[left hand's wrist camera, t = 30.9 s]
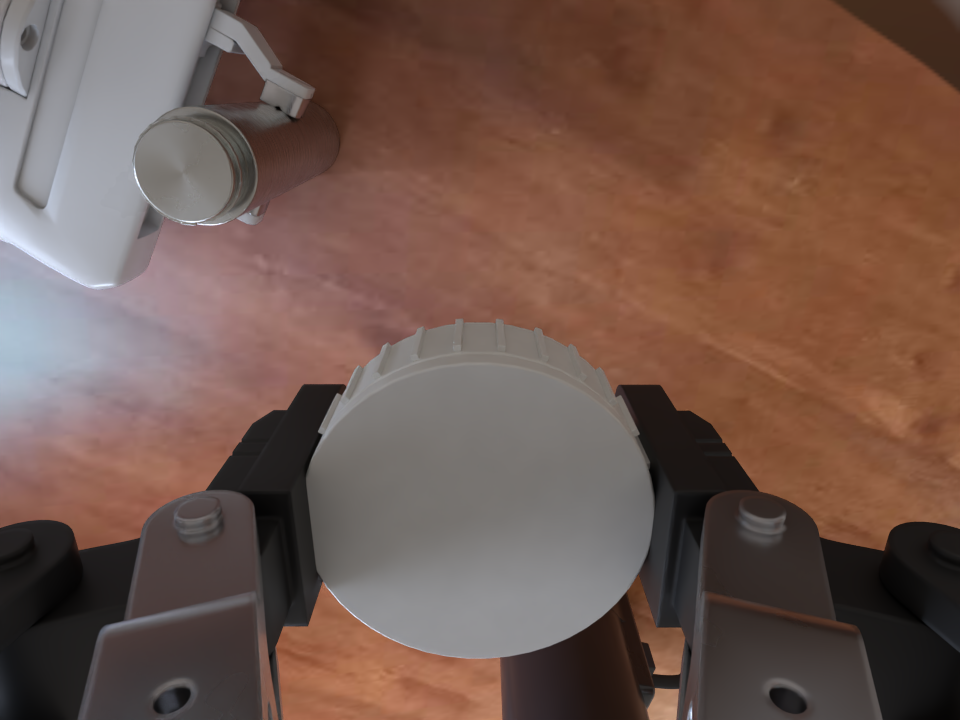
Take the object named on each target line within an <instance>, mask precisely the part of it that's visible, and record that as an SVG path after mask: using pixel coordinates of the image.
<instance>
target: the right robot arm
mask: <svg viewBox="0 0 960 720" xmlns="http://www.w3.org/2000/svg"><path fill="white" fill-rule="evenodd" d="M240 1H241V0H0V240H2V241H4V242H7V243H10V244H13V245H15V246H16V247H18V248H19V249H21V250H22V251H24V252H26V253H27V254H29V255H30V256H32V257H33V258H35V259H37V260H38V261H40V262H42V263H44V264H45V265H47V266H49V267H50V268H52V269H54V270H56V271H57V272H59V273H61V274H63V275H64V276H66V277H68V278H70V279H72V280H74V281H76V282H78V283H80V284H82V285H84V286H86V287H88V288H91V289H96V290H102V289H109V288H113V287H118V286H121V285H123V284H125V283H127V282H129V281H131V280H133V279H134V278H136V277H138V276H139V275H141V274H142V273H143V272H144V271H145V270H146V269H147V267H148V265H149V262H150V259H151V256H152V253H153V250H154V247H155V245H156V242H157V239H158V236H159V233H160V230H161V227H162V224H163V222H164V219H165V216H163V215H161V214H160V213H158V212H157V211H156V210H155V209H154V208H153V207H152V206H151V205H150V204H149V203H148V202H147V201H146V199H145V198H144V196H143V195H142V193H141V192H140V190H139V189H138V188H139V187H138V185H137V182H136V180H135V177H134V175H133V174H134V171H133V164H132V160H133V153H134V146H135V145H136V143H137V140H138V138H139V136H140V134H141V133H142V132H143V131H144V130H145V129H146V128H147V127H148V126H149V125H150V124H152V123H154V122H155V121H156V120H157V119H158V118H159V117H160V116H161V115H163V114H164V113H166V112H168V111H170V110H172V109H175V108H179V107H186V106H200V105H204V104H205V101H206V98H207V95H208V93H209V90H210V87H211V84H212V81H213V78H214V75H215V72H216V70H217V67H218V64H219V61H220V58H221V55H222V52H223V50H224V51H226V52H228V53H236V54H245V55H246V56H247V57H248V59H249V60H250V62H251V63H252V64H253V66H254V67H255V69H256V70H257V71H258V73H259V74H260V76H261V77H262V78H263V80H264V81H265V82H266V83H265V86H264V88H263V91H262V94H261V97H260V100H262V101H264V102H265V103H267V104H269V105H271V106H274V107H277V106H279V107H280V108H281V110H282V111H283V112H284V113H285V114H287V115H289V116H291V117H294V118H297V119H300V117H301V118H304V115H305V113H306V111H307V108H308V106H309V104H310V101H311V99H312V97H313V94H314V91H315V88H314V87H312V86H311V85H309V84H308V83H306V82H304V81H302V80H300V79H299V78H297V77H295V76H293V75H292V74H290V73H288V72H286V71H284V70H283V69H282V68H283V66H282V64H281V63H280V61H279V60H278V58H277V57H276V55H275V54H274V52H273V51H272V49H271V48H270V46H269V45H268V43H267V41H266V40H265V38H264V37H263V35H262V34H261V32H260V31H259V29H258V28H257V27H256V26H254V25H253V24H251V23H249V22H247V21H246V20H244V19H242V18H240V17H238V16H237V15H236V12H237V9H238V6H239V3H240ZM269 202H270V201H268V202H266V203H264V204H262V205H261V206H259V207H257V208H255V209H253V210H251V211H249V212H247V213H245V214H244V215H242V216H240V217H238V218H237V219H239V220H241V221H243V222H245V223H247V224H251V225H256V224H258V223H259V222H261V221H262V219H263V217H264V214H265V212H266V209H267V207H268V204H269Z"/></svg>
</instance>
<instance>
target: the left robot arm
mask: <svg viewBox="0 0 960 720" xmlns="http://www.w3.org/2000/svg"><path fill="white" fill-rule="evenodd" d="M345 389H346V386H345V385H344V384H304V385H303V386H302V387H301V389H300V390H299V392H298V393H297V395H296V397H295V398H294V400H293V402H292V403H291V405H290V406H289V408H288V410H273V411H272V412H270V413H269V414H267V415H266V416H264V417H262V418H261V419H259V420H258V421H256V422H255V423H253V424H252V425H251V427H250V428H249V430H248V431H247V432H246V434H245V435H244V437H243V438H242V442H239V444H238V445H237V447H236V448H235V449H234V451H233V455H232V456H230V457H229V458H228V459H227V461H226V462H225V464H224V465H223V467H222V468H221V469H220V471H219V472H218V474H217V475H216V476H215V478H214V479H213V481H212V482H211V484H210V485H209V486H208V488H207V489H206V491H202V492H197V493H193V494H189V495H186V496H183V497H180V498H178V499H175V500H173V501H171V502H169V503H167V504H165V505H164V506H162V507H161V508H159V509H158V510H157V511H155V512H154V513H153V514H152V515H151V516H150V517H149V518H148V519H147V521H146V522H145V524H144V526H143V528H142V532H141V537H140V538H138V539H134V540H130V541H125V542H120V543H115V544H110V545H105V546H99V547H94V548H89V549H84V550H78V547H77V543H76V540H75V536H74V533H73V531H72V529H71V528H70V527H69V526H68V525H66V524H64V523H62V522H58V521H51V520H36V521H27V522H22V523H17V524H13V525H9V526H5V527H2V528H0V720H283V709H282V698H281V686H280V675H279V664H278V657H277V650H276V644H277V642H278V639H279V636H280V634H281V631H282V628H283V626H308V624H309V621H310V618H311V615H312V612H313V609H314V606H315V603H316V600H317V597H318V594H319V591H320V588H321V585H322V582H323V580H322V579H321V577H320V576H319V574H318V572H317V569H316V562H315V553H314V545H313V537H312V528H311V520H310V511H309V503H308V495H307V486H306V473H307V470H308V467H309V465H310V462H311V459H312V457H313V454H314V452H315V450H316V448H317V446H318V444H319V442H320V440H321V437H322V434H320V433H318V431H319V429H320V426H321V424H322V422H323V420H324V418H325V416H326V414H327V412H328V410H329V408H330V406H331V404H332V402H333V400H334V398H335V396H336V394H337V393H338V394H340V395H343V393H344V391H345ZM620 395H621V396H622V398H623V400H624V402H625V404H626V406H627V408H628V410H629V413H630V415H631V417H632V419H633V421H634V423H635V425H636V427H637V429H638V431H639V435H638V438H639V440H640V442H641V444H642V446H643V448H644V450H645V453H646V455H647V457H648V459H649V461H650V469H649V472H650V475H651V479H652V484H653V489H654V494H655V510H654V519H653V528H652V536H651V543H650V547H649V551H648V554H647V557H646V559H645V561H644V563H643V565H642V568H641V570H640V572H639V576H640V579H641V582H642V585H643V588H644V591H645V594H646V597H647V600H648V603H649V606H650V609H651V612H652V615H653V618H654V621H655V624H656V627H682V630H683V633H684V635H685V644H684V650H683V657H682V664H681V673H680V674H679V675H657V674H653V672H654V670H655V664H654V661H653V658H652V655H651V651H650V648H649V645H648V643H643V642H641V640H640V636H639V633H638V629H637V626H636V623H635V619H634V616H633V612H632V609H631V606H630V602H629V599H628V595H627V592H626V593H625V594H624V595H623V596H622V597H621V599H620V600H619V601H618V602H617V603H616V604H615V605H614V606H613V607H612V608H611V609H610V610H609V611H608V612H607V613H605V614H604V615H603V616H602V617H601V618H599V619H598V620H597V621H595V622H594V623H593V624H591V625H590V626H588V627H587V628H585V629H584V630H582V631H580V632H578V633H577V634H575V635H573V636H571V637H569V638H567V639H565V640H563V641H560V642H558V643H556V644H553V645H551V646H548V647H545V648H542V649H539V650H536V651H532V652H529V653H524V654H519V655H514V656H508V657H500V667H501V693H502V719H503V720H650V719H649V716H648V712H647V709H648V707H649V705H650V703H651V701H652V699H653V698H654V694H655V688H663V689H679V698H678V709H677V720H960V529H958V528H955V527H951V526H947V525H942V524H937V523H930V522H908V523H904V524H900V525H898V526H896V527H894V528H893V529H892V530H891V531H890V534H889V536H888V540H887V543H886V547H885V550H884V551H881V550H876V549H871V548H866V547H861V546H856V545H850V544H845V543H840V542H836V541H831V540H827V539H824V538H821V537H819V532H818V528H817V526H816V524H815V522H814V521H813V519H812V518H811V517H810V516H809V515H808V514H807V513H806V512H805V511H803V510H802V509H801V508H799V507H798V506H796V505H795V504H793V503H791V502H789V501H787V500H785V499H782V498H780V497H777V496H774V495H771V494H767V493H763V492H759V490H758V489H757V488H756V486H755V485H754V483H753V482H752V481H751V479H750V478H749V476H748V475H747V474H746V472H745V471H744V470H743V468H742V467H741V465H740V464H739V463H738V461H737V460H736V458H735V457H734V456H732V453H731V451H730V450H729V449H728V447H727V446H726V444H725V443H722V439H721V437H720V436H719V435H718V433H717V432H716V430H715V429H714V428H713V426H712V425H711V424H710V423H708V422H707V421H705V420H704V419H702V418H700V417H699V416H697V415H696V414H694V413H693V412H691V411H677V410H676V409H675V407H674V406H673V404H672V402H671V401H670V399H669V398H668V396H667V395H666V393H665V391H664V390H663V388H662V387H661V386H660V385H618V387H617V389H616V393H615V397H618V396H620Z"/></svg>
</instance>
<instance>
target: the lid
mask: <svg viewBox="0 0 960 720" xmlns="http://www.w3.org/2000/svg"><path fill="white" fill-rule="evenodd" d="M318 433H320V434H322V437H321V440H320V442H319V444H318V446H317V448H316V450H315V452H314V454H313V457H312V459H311V462H310V465H309V467H308V470H307V473H306V486H307V495H308V503H309V511H310V520H311V528H312V537H313V545H314V553H315V562H316V569H317V572H318V574H319V576H320V577H321V579H322V580H323V582H324V584H325V585H326V587H327V588H328V589H329V591H330V592H331V593H332V594H333V595H334V597H335V598H336V599H337V600H338V601H339V602H340V603H341V604H342V605H343V606H344V607H345V608H346V609H347V610H348V611H349V612H350V613H351V614H352V615H354V616H355V617H356V618H357V619H359V620H360V621H362V622H363V623H364V624H366V625H367V626H368V627H370V628H371V629H373V630H375V631H377V632H378V633H380V634H382V635H384V636H386V637H387V638H389V639H392V640H394V641H396V642H399V643H401V644H403V645H406V646H408V647H412V648H415V649H418V650H421V651H425V652H428V653H433V654H438V655H443V656H449V657H459V658H497V657H508V656H514V655H519V654H524V653H529V652H532V651H536V650H539V649H542V648H545V647H548V646H551V645H553V644H556V643H558V642H560V641H563V640H565V639H567V638H569V637H571V636H573V635H575V634H577V633H578V632H580V631H582V630H584V629H585V628H587V627H588V626H590V625H591V624H593V623H594V622H595V621H597V620H598V619H599V618H601V617H602V616H603V615H604V614H605V613H607V612H608V611H609V610H610V609H611V608H612V607H613V606H614V605H615V604H616V603H617V602H618V601H619V600H620V599H621V597H622V596H623V595H624V594H625V593H626V591H627V590H628V589H629V588H630V586H631V585H632V583H633V581H634V580H635V578H636V577H637V575H638V574H639V572H640V570H641V568H642V565H643V563H644V561H645V559H646V557H647V554H648V551H649V547H650V543H651V536H652V528H653V519H654V510H655V494H654V489H653V484H652V479H651V475H650V472H649V469H650V461H649V459H648V457H647V455H646V453H645V450H644V448H643V446H642V444H641V442H640V440H639V438H638V435H639V431H638V429H637V427H636V425H635V423H634V421H633V419H632V417H631V415H630V413H629V410H628V408H627V406H626V404H625V402H624V400H623V398H622V396H621V395H620V396H618V397H615V395H614V393H613V391H612V389H611V386H610V384H609V382H608V380H607V378H606V375H605V373H604V371H603V370H602V369H601V368H600V367H599V368H597V369H596V370H595V369H594V368H593V367H592V366H591V365H590V364H589V363H588V362H587V361H586V360H584V359H583V358H582V357H580V356H579V354H578V351H577V349H576V347H575V346H573V345H572V344H570V345H569V346H568V347H566V346H564V345H562V344H561V343H559V342H557V341H555V340H553V339H552V338H549V337H547V336H544V335H543V333H542V330H541V329H539V328H536V327H535V329H534V331H531V330H527V329H523V328H519V327H516V326H512V325H504V322H503V320H502V319H496V323H464V322H463V319H456V324H452V325H445V326H441V327H437V328H433V329H429V330H425V328H424V327H421V328H418V329H417V332H416V334H415V335H413V336H410V337H408V338H405V339H403V340H402V341H400V342H398V343H396V344H394V345H393V346H391V345H390V344H389V343H386V344H385V345H383V347H382V349H381V352H380V354H379V355H378V356H376V357H375V358H374V359H372V360H371V361H370V362H369V363H368V364H367V365H366V366H365V367H364V368H362V367H361V366H358V367H357V368H356V369H355V370H354V372H353V374H352V377H351V379H350V381H349V383H348V385H347V387H346V389H345V391H344V393H343V395H340V394H338V393H337V394H336V396H335V398H334V400H333V402H332V404H331V406H330V408H329V410H328V412H327V414H326V416H325V418H324V420H323V422H322V424H321V426H320V429H319V431H318Z"/></svg>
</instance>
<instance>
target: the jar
mask: <svg viewBox="0 0 960 720" xmlns="http://www.w3.org/2000/svg"><path fill="white" fill-rule="evenodd" d="M339 144H340V140H339V133H338V129H337V126H336V124H335V122H334V120H333V119H332V117H331V116H330V115H329V113H328V112H327V111H326V110H325V109H323V108H322V107H321V106H319V105H317V104H316V103H313V102H311V101H310V104H309V106H308V108H307V111H306V113H305V115H304V118H301V117H300V119H297V118H294V117H291V116H289V115H287V114H285V113H284V112H283V111H282V110H281V108H280V107H279V106H277V107H274V106H271V105H269V104H267V103H265V102H249V103H233V104H217V105H200V106H186V107H179V108H175V109H172V110H170V111H168V112H166V113H164V114H163V115H161V116H160V117H159V118H158V119H157V120H156V121H155V122H154V123H152V124H150V125H149V126H148V127H147V128H146V129H145V130H144V131H143V132H142V133H141V134H140V136H139V138H138V140H137V143H136V145H135V146H134V153H133V160H132V164H133V171H134V174H133V175H134V177H135V180H136V182H137V185H138V187H139V188H138V189H139V190H140V192H141V193H142V195H143V196H144V198H145V199H146V201H147V202H148V203H149V204H150V205H151V206H152V207H153V208H154V209H155V210H156V211H157V212H158V213H160V214H161V215H163V216H165V217H166V218H168V219H169V220H172V221H175V222H178V223H181V224H184V225H197V224H200V225H220V224H224V223H227V222H230V221H232V220H234V219H236V218H238V217H240V216H242V215H244V214H245V213H247V212H249V211H251V210H253V209H255V208H257V207H259V206H261V205H262V204H264V203H266V202H268V201H270V200H272V199H274V198H276V197H277V196H279V195H281V194H283V193H285V192H287V191H289V190H291V189H293V188H294V187H296V186H298V185H300V184H302V183H304V182H306V181H308V180H309V179H311V178H313V177H315V176H317V175H319V174H321V173H322V172H324V171H326V170H327V169H328V168H329V167H330V166H331V165H332V164H333V162H334V161H335V159H336V157H337V154H338V151H339Z"/></svg>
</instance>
